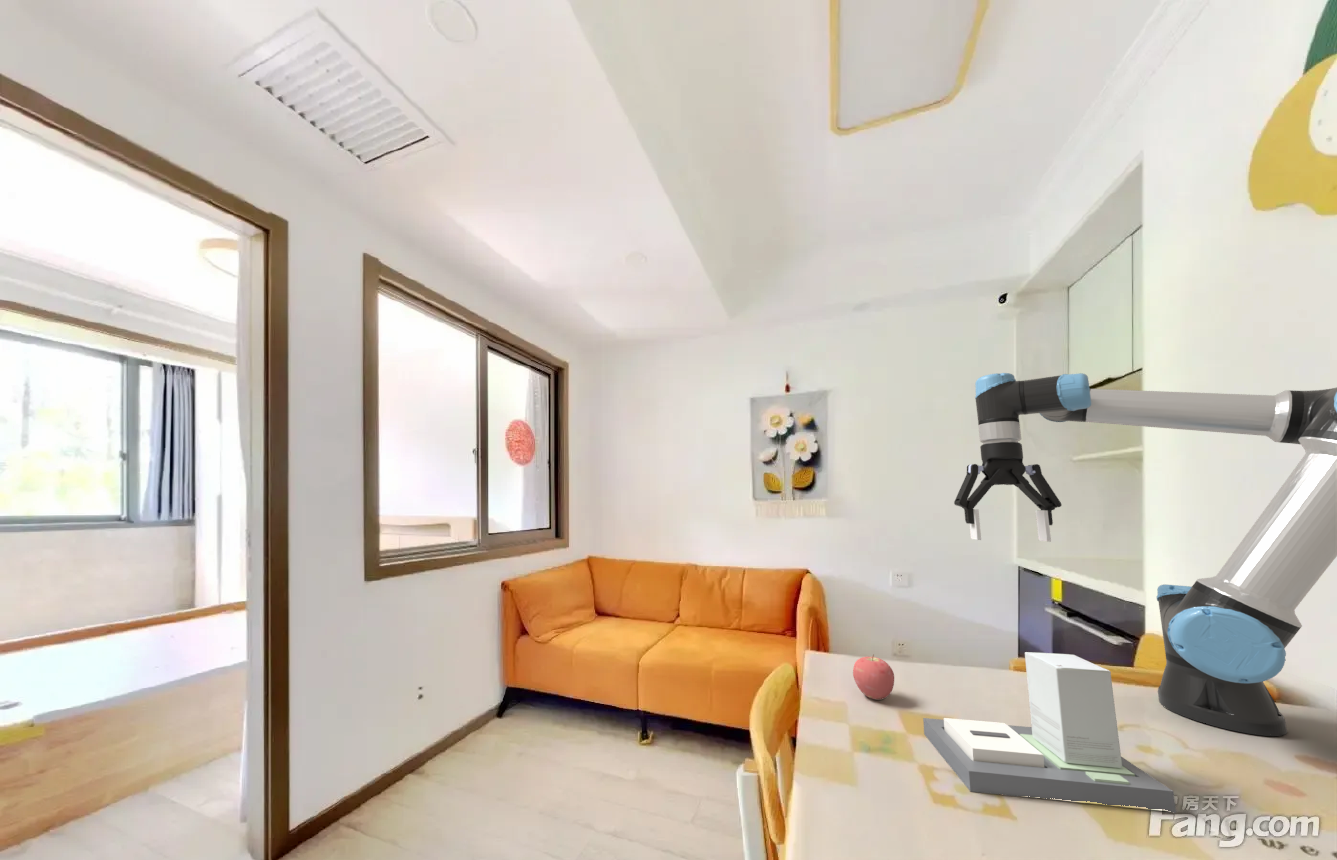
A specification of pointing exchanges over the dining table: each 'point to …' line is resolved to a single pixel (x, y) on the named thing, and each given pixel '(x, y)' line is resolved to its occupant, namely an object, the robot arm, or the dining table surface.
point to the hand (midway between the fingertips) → (1010, 540)
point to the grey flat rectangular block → (1033, 767)
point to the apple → (873, 677)
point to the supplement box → (1073, 709)
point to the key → (1070, 766)
